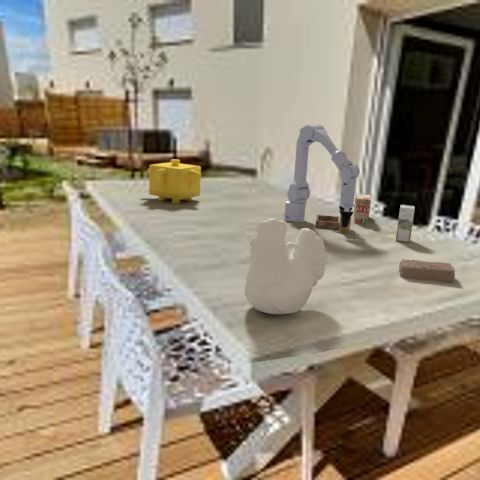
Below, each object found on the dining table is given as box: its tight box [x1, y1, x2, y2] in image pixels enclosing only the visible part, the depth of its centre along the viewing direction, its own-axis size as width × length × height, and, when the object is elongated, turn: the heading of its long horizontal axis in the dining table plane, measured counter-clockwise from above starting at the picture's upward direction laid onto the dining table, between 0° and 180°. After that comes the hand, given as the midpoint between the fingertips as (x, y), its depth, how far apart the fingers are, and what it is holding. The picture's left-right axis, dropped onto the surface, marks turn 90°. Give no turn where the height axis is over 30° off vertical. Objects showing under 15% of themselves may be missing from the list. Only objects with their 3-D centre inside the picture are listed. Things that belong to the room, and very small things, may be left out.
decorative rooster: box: [244, 217, 329, 315], centre depth 133 cm, size 25×16×25 cm, turn 110°
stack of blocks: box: [353, 193, 372, 225], centre depth 243 cm, size 21×6×12 cm, turn 169°
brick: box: [398, 258, 456, 283], centre depth 167 cm, size 17×8×5 cm, turn 78°
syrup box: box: [395, 204, 416, 244], centre depth 209 cm, size 6×6×14 cm
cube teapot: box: [146, 158, 202, 204], centre depth 268 cm, size 35×30×21 cm
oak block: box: [338, 214, 352, 233], centre depth 218 cm, size 4×4×6 cm
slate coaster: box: [331, 229, 357, 235], centre depth 219 cm, size 10×10×1 cm
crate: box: [315, 214, 340, 230], centre depth 228 cm, size 10×13×4 cm
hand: (344, 224), depth 218 cm, fingers open, 7 cm apart
